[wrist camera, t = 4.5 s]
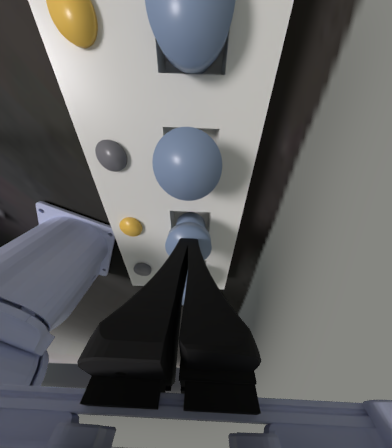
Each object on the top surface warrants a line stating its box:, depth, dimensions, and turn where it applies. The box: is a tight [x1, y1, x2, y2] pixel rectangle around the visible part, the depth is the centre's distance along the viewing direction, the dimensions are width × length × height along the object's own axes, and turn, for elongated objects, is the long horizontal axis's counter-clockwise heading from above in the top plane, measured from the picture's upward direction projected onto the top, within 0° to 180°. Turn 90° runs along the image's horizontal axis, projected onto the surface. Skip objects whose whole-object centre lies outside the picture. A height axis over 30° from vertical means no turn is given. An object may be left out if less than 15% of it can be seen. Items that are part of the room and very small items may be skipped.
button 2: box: [165, 212, 212, 260], centre depth 12 cm, size 4×4×3 cm
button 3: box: [152, 127, 222, 201], centre depth 9 cm, size 4×4×3 cm
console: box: [28, 0, 294, 289], centre depth 12 cm, size 25×12×3 cm, turn 178°
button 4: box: [145, 0, 235, 74], centre depth 7 cm, size 4×4×3 cm
